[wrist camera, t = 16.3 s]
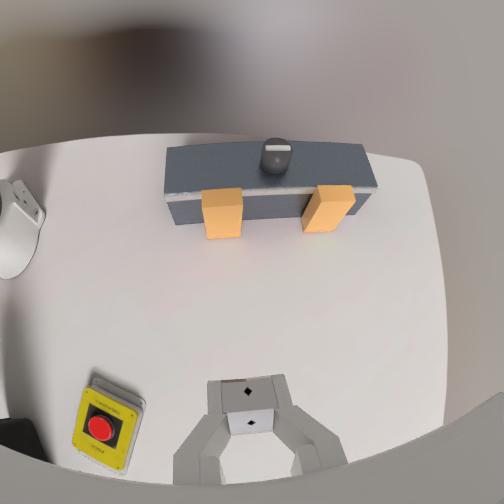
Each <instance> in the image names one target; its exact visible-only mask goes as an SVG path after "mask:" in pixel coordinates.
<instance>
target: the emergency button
mask: <svg viewBox="0 0 504 504" xmlns="http://www.w3.org/2000/svg"><path fill="white" fill-rule="evenodd" d="M145 408H146V403H145V401H144V400H143V399H142V398H139V397H137V396H135V395H133V394H131V393H129V392H127V391H124V390H122V389H120V388H118V387H116V386H114V385H112V384H110V383H109V382H107V381H105V380H103V379H101V378H98V377H96V378H94V379H93V381H92V383H91V386H90V387H87V388H85V389H84V391H83V395H82V399H81V403H80V407H79V411H78V415H77V420H76V424H75V429H74V433H73V438H72V444H73V446H74V447H75V448H76V449H77V451H78V452H79V453H80V454H81V455H83V456H85V457H86V458H88V459H90V460H92V461H93V462H95V463H97V464H99V465H101V466H102V467H104V468H106V469H108V470H110V471H112V472H114V473H116V474H118V475H120V476H124V475H126V473H127V470H128V467H129V463H130V459H131V456H132V452H133V449H134V445H135V442H136V438H137V435H138V431H139V428H140V425H141V421H142V418H143V415H144V412H145Z"/></svg>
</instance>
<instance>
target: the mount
mask: <svg viewBox="0 0 504 504" xmlns="http://www.w3.org/2000/svg"><path fill="white" fill-rule="evenodd" d="M264 142H265V141H262V142H232V143H214V144H200V145H189V146H178V147H169V148H167V155H166V168H165V183H164V199H165V201H166V202H167V204H168V206H169V209H170V212H171V214H172V217H173V219H174V222H175V224H176V225H183V224H195V223H205V222H204V217H203V211H202V193H201V190H212V189H227V188H241V189H242V198H243V212H242V220H253V219H271V218H290V217H302V216H303V214H304V212H305V210H306V208H307V206H308V204H309V202H310V200H311V198H312V196H313V194H314V192H315V189H316V187H317V185H351V186H352V189H353V193H354V196H355V200H356V202H355V203H354V204H353V206H352V207H351V208H350V209H349V211H348V212H347V213H346V215H355V214H356V212H357V211H358V210H359V209H360V208H361V206H362V205H363V204H364V203H365V201H366V200H367V199H368V198H369V197H370V195H371V194H372V193H375V192H376V191H377V190H378V188H377V187H378V186H377V183H376V180H375V177H374V174H373V171H372V169H371V166H370V163H369V160H368V158H367V155H366V153H365V150H364V148H363V145H362V144H348V143H331V142H301V141H287V142H289V143H290V145H291V146H292V148H293V154H292V157H291V161H290V164H289V167H288V169H287V170H286V171H285V172H284V173H281V174H271V173H268V172H267V171H265V170H264V169H263V168H262V166H261V164H260V159H261V153H262V146H263V144H264Z"/></svg>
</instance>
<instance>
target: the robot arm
mask: <svg viewBox="0 0 504 504" xmlns="http://www.w3.org/2000/svg"><path fill="white" fill-rule="evenodd" d="M44 219H45V213H44V211H43V210H42V208H41V207H40V206H39V204H38V203H37V201H36V200H35V199H34V197H33V196H32V194H31V193H30V191H29V190H28V188H27V187H26V185H25V184H24V182H23V181H22V180H16V181H14V182H12V183H11V184H10V183H9V182H8V181H7V180H6V179H1V180H0V277H1V278H3V279H11V278H14V277H16V276H17V275H19V274H20V273H21V272H22V271H23V270H24V269H25V268H26V266H27V265H28V263H29V262H30V260H31V258H32V256H33V254H34V251H35V248H36V245H37V241H38V235H39V230H40V228H41V225H42V223H43V221H44ZM207 396H208V415H204V416H203V417H202V419H201V420H200V421H199V423H198V424H197V425H196V427H195V428H194V429H193V431H192V432H191V433H190V435H189V436H188V437H187V439H186V440H185V441H184V442H183V444H182V445H181V446H180V448H179V449H178V450H177V451H176V453H175V454H174V459H173V484H157V483H146V482H137V481H129V480H121V479H115V478H109V477H103V476H98V475H93V474H89V473H84V472H80V471H76V470H72V469H68V468H64V467H61V466H57V465H54V464H50V463H47V462H44V461H41V460H38V459H35V458H32V457H29V456H27V455H24V454H21V453H19V452H16V451H14V450H11V449H9V448H7V447H5V446H2V445H0V504H504V393H503V392H500V393H497V394H495V395H494V396H492V397H491V398H489V399H488V400H486V401H485V402H483V403H482V404H480V405H478V406H477V407H475V408H473V409H472V410H470V411H469V412H467V413H465V414H464V415H462V416H460V417H458V418H457V419H455V420H453V421H451V422H449V423H447V424H445V425H443V426H441V427H439V428H437V429H435V430H433V431H431V432H429V433H427V434H425V435H423V436H421V437H419V438H416V439H414V440H412V441H409V442H407V443H405V444H402V445H400V446H397V447H395V448H392V449H390V450H387V451H384V452H382V453H379V454H376V455H373V456H370V457H367V458H364V459H361V460H358V461H355V462H351V463H348V462H347V459H346V456H345V453H344V451H343V448H342V445H341V442H340V440H339V437H338V436H337V435H335V434H334V433H332V432H331V431H330V430H328V429H327V428H326V427H324V426H323V425H322V424H320V423H319V422H318V421H316V420H315V419H314V418H312V417H311V416H310V415H309V414H307V413H306V412H305V411H303V410H302V409H301V408H300V407H298V406H297V405H295V406H293V404H292V400H291V396H290V393H289V389H288V386H287V382H286V379H285V376H284V374H279V375H271V376H270V375H269V376H261V377H253V378H246V379H235V380H216V381H208V383H207ZM271 431H273V433H274V434H275V435H276V436H277V437H278V438H279V439H280V440H281V441H282V442H283V443H284V444H285V445H286V446H287V447H288V448H289V449H290V450H291V451H292V452H293V453H295V454H296V455H295V458H294V462H293V465H292V468H291V474H292V477H286V478H280V479H274V480H266V481H258V482H248V483H237V484H226V479H225V476H224V473H223V470H222V467H221V464H220V460H219V457H220V456H221V454H222V452H223V450H224V449H225V447H226V445H227V443H228V442H229V440H230V438H231V436H233V435H243V434H251V433H262V432H271Z"/></svg>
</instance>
